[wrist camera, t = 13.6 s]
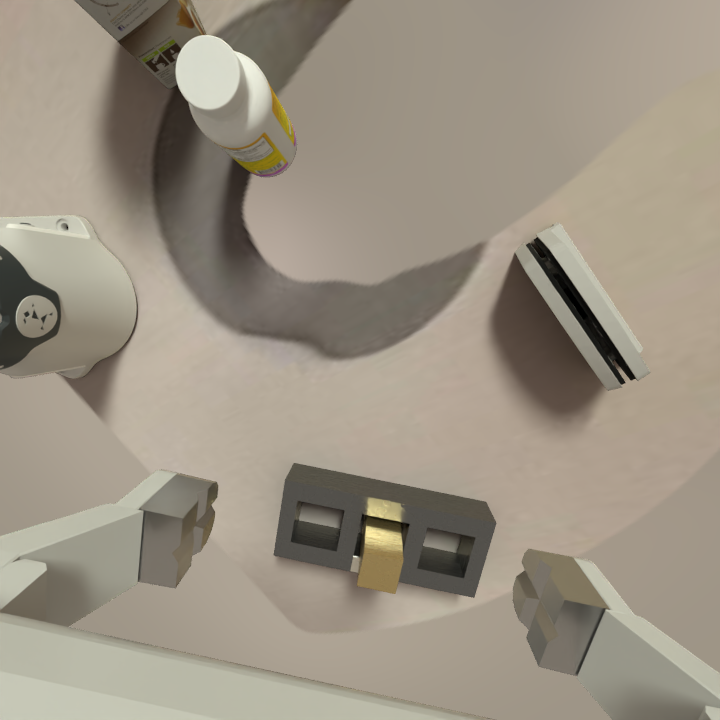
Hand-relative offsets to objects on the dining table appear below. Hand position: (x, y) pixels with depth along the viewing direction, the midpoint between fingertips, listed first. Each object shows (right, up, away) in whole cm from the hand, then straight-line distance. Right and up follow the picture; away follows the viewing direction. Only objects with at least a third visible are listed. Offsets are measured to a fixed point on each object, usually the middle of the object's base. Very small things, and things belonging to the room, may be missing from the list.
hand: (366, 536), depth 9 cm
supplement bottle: (-10, +27, +28) cm, 40 cm away
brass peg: (+2, -15, +36) cm, 39 cm away
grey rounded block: (+22, +10, +30) cm, 38 cm away
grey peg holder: (+3, -15, +36) cm, 39 cm away
